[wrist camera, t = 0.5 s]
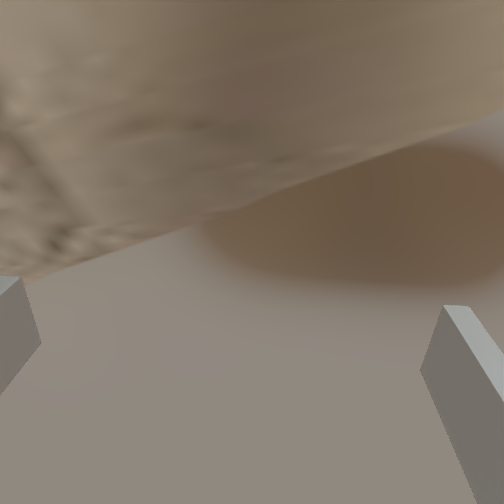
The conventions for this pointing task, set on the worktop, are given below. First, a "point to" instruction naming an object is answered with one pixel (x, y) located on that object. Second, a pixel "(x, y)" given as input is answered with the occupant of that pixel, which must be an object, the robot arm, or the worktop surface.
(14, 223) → the worktop surface
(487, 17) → the worktop surface
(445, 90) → the worktop surface
